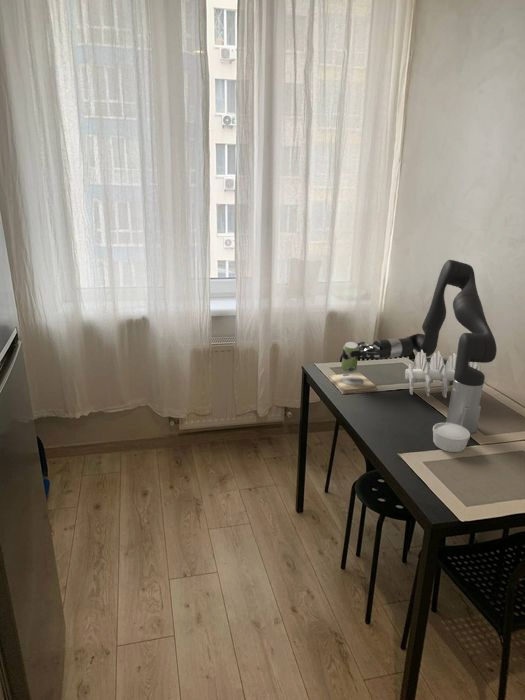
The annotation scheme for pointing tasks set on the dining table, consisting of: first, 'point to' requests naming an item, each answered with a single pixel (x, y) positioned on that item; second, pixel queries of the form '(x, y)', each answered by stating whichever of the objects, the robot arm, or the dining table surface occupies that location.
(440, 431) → the ramekin
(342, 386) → the hub seat
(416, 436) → the dining table surface
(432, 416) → the dining table surface
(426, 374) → the white adirondack chairs
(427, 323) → the robot arm
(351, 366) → the beverage can
